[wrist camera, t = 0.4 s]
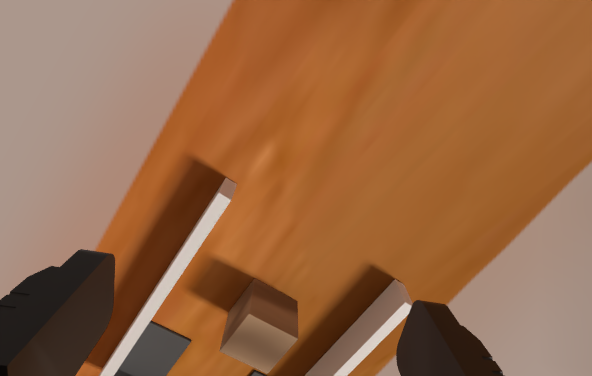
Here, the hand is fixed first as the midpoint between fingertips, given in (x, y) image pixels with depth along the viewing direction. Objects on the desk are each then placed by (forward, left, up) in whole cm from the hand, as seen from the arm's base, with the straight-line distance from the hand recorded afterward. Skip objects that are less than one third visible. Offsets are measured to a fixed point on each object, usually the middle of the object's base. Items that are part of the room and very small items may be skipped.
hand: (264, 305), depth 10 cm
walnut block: (+11, +11, -18) cm, 24 cm away
